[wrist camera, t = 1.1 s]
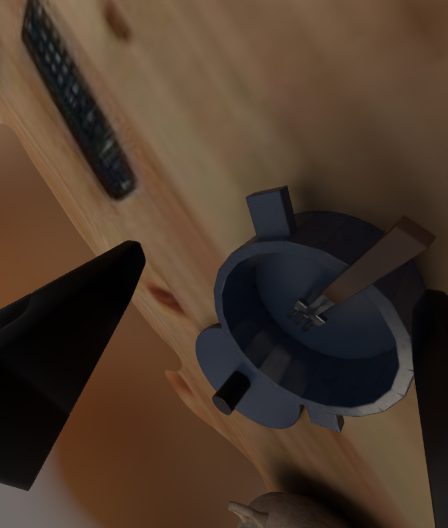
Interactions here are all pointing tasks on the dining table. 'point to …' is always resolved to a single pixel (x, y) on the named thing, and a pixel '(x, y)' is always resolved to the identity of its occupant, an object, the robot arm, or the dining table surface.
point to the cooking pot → (288, 512)
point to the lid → (241, 384)
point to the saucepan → (339, 317)
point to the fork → (366, 269)
